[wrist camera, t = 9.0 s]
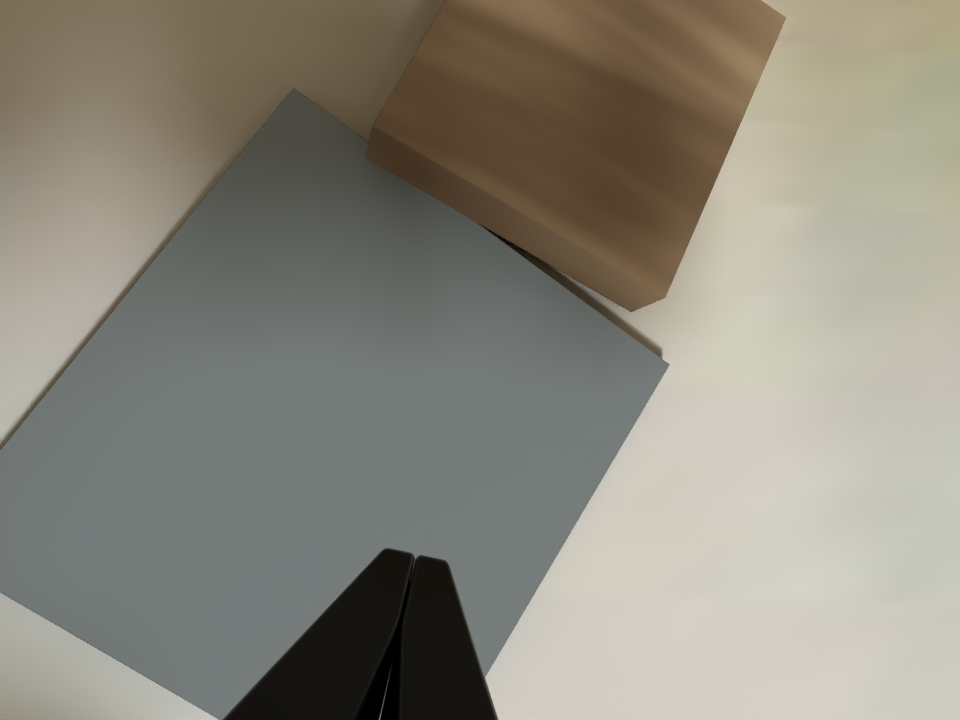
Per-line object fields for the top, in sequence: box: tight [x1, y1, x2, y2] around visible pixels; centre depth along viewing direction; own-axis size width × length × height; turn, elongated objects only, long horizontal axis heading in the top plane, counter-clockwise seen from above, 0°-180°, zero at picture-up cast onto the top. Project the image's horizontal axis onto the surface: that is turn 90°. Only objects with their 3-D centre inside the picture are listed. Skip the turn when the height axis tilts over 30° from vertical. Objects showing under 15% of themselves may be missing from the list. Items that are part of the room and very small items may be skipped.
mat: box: [0, 88, 669, 720], centre depth 17 cm, size 13×12×1 cm
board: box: [365, 0, 786, 312], centre depth 18 cm, size 2×8×9 cm
